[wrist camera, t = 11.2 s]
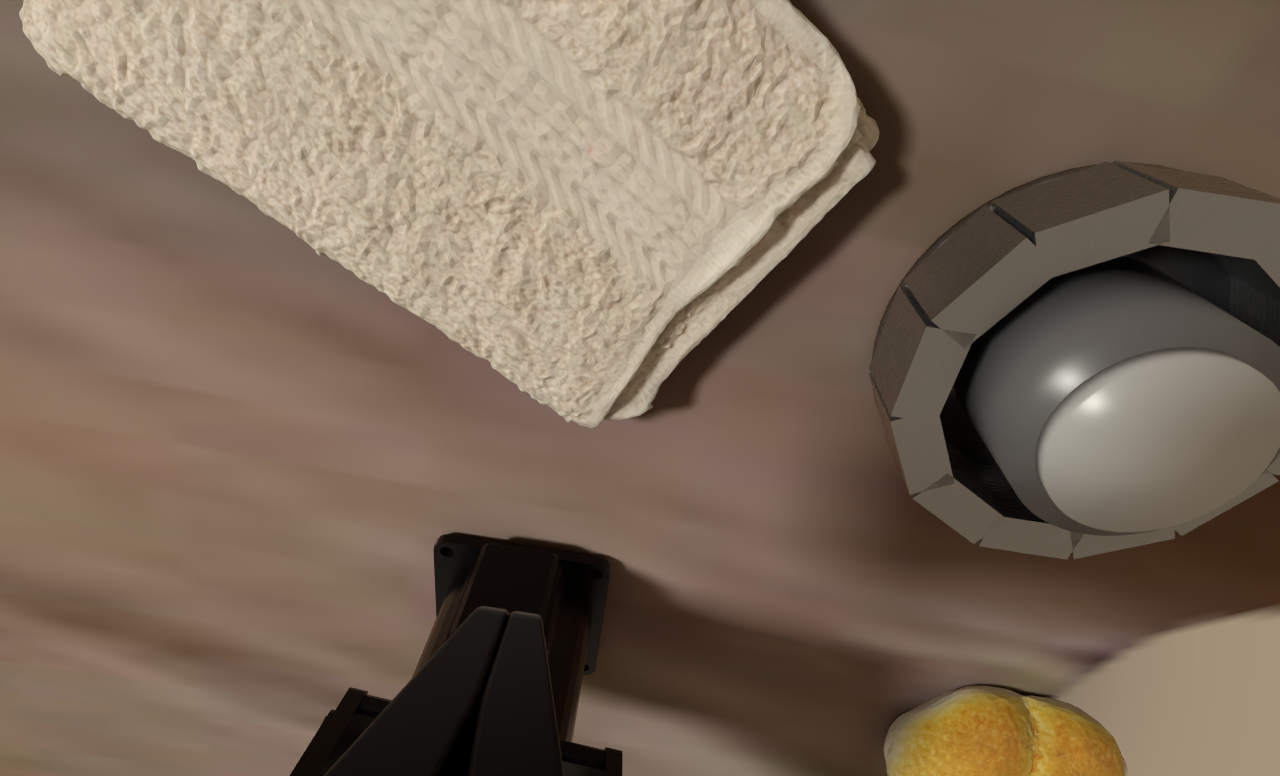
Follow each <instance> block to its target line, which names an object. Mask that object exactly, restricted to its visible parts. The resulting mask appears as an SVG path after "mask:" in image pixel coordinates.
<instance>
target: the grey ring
mask: <svg viewBox="0 0 1280 776" xmlns="http://www.w3.org/2000/svg"><path fill="white" fill-rule="evenodd" d="M1121 256H1125V257H1129V258H1134V259H1137V260H1139V261H1142V262H1145V263H1147V264H1149V265H1151V266H1152V267H1154V268H1156V269H1158V270H1159V271H1161V272H1162V273H1164V274H1166V275H1167V276H1169V277H1171V278H1172V279H1174V280H1175V281H1177V282H1179V283H1180V284H1182V285H1183V286H1185V287H1187V288H1188V289H1190V290H1191V291H1193V292H1195V293H1196V294H1198V295H1200V296H1201V297H1203V298H1204V299H1206V300H1208V301H1209V302H1211V303H1212V304H1214V305H1216V306H1217V307H1219V308H1220V309H1222V310H1224V311H1225V312H1227V313H1229V314H1230V315H1232V316H1233V317H1235V318H1237V319H1238V320H1240V321H1241V322H1243V323H1245V324H1246V325H1248V326H1249V327H1251V328H1253V329H1254V330H1256V331H1258V332H1259V333H1261V334H1262V335H1264V336H1266V337H1267V338H1269V339H1270V340H1272V341H1273V342H1274V343H1276V344H1277V345H1278V346H1279V347H1280V199H1278V198H1276V197H1273V196H1270V195H1268V194H1265V193H1262V192H1260V191H1257V190H1254V189H1251V188H1249V187H1246V186H1243V185H1241V184H1238V183H1235V182H1233V181H1230V180H1227V179H1224V178H1222V177H1217V176H1210V175H1204V174H1197V173H1191V172H1185V171H1182V170H1177V169H1173V168H1169V167H1164V166H1160V165H1152V164H1140V163H1126V162H1120V161H1114V162H1113V163H1111V164H1110V163H1108V162H1104V163H1101V164H1097V165H1091V166H1085V167H1079V168H1073V169H1069V170H1065V171H1062V172H1058V173H1055V174H1051V175H1048V176H1044V177H1041V178H1038V179H1036V180H1033V181H1031V182H1028V183H1026V184H1023V185H1021V186H1018V187H1016V188H1013V189H1011V190H1009V191H1007V192H1006V193H1004V194H1002V195H1000V196H998V197H996V198H994V199H992V200H990V201H989V202H987V203H985V204H983V205H982V206H980V207H979V208H977V209H976V210H974V211H973V212H971V213H970V214H969V215H967V216H966V217H964V218H963V219H961V220H960V221H958V222H957V223H956V224H955V225H954V226H952V227H951V228H950V229H949V230H948V231H947V232H945V233H944V234H943V235H942V236H941V237H939V238H938V239H937V240H936V241H935V242H934V243H933V244H932V245H931V246H930V247H929V248H928V249H927V250H926V252H925V253H924V254H923V255H922V256H921V257H920V258H919V259H918V260H917V261H916V263H915V264H914V265H913V267H912V268H911V269H910V270H909V272H908V273H907V274H906V276H905V277H904V278H903V280H902V281H901V283H900V285H899V286H898V288H897V290H896V291H895V293H894V295H893V296H892V298H891V300H890V301H889V304H888V306H887V308H886V311H885V313H884V315H883V317H882V320H881V322H880V325H879V329H878V332H877V336H876V339H875V343H874V350H873V357H872V362H871V365H870V367H869V369H870V371H871V373H869V375H870V379H871V383H872V386H873V391H874V396H875V402H876V404H877V407H878V410H879V413H880V416H881V419H882V423H883V427H884V430H885V434H886V438H887V441H888V444H889V446H890V449H891V451H892V453H893V456H894V458H895V461H896V463H897V466H898V468H899V470H900V473H901V475H902V478H903V480H904V482H905V485H906V487H907V490H908V492H909V495H910V494H911V497H912V499H913V500H915V501H916V502H918V503H919V504H920V505H922V506H923V507H924V508H926V509H927V510H928V511H930V512H931V513H932V514H934V515H935V516H936V517H938V518H939V519H940V520H942V521H943V522H944V523H946V524H947V525H948V526H950V527H951V528H952V529H954V530H955V531H956V532H958V533H959V534H961V535H962V536H963V537H965V538H966V539H967V540H969V541H970V542H971V543H973V544H975V543H976V542H977V544H978V546H980V547H987V548H993V549H1000V550H1006V551H1013V552H1020V553H1026V554H1033V555H1040V556H1046V557H1053V558H1059V559H1066V560H1067V559H1068V557H1069V556H1070V554H1071V556H1072V557H1073V559H1078V558H1083V557H1088V556H1092V555H1097V554H1102V553H1107V552H1112V551H1117V550H1122V549H1127V548H1131V547H1136V546H1141V545H1146V544H1151V543H1156V542H1161V541H1166V540H1170V539H1175V531H1177V532H1178V533H1179V534H1180V535H1181V536H1183V535H1185V534H1186V533H1188V532H1190V531H1192V530H1193V529H1195V528H1197V527H1199V526H1200V525H1202V524H1204V523H1206V522H1208V521H1209V520H1211V519H1213V518H1215V517H1216V516H1218V515H1220V514H1222V513H1223V512H1225V511H1227V510H1229V509H1231V508H1232V507H1234V506H1236V505H1238V504H1239V503H1241V502H1243V501H1245V500H1246V499H1248V498H1250V497H1252V496H1254V495H1255V494H1257V493H1259V492H1261V491H1262V490H1264V489H1266V488H1268V487H1269V486H1271V485H1273V484H1275V483H1277V482H1278V481H1279V480H1278V479H1276V478H1275V477H1274V476H1273V475H1272V474H1274V475H1280V454H1279V455H1278V457H1277V458H1276V459H1275V460H1274V462H1273V463H1272V464H1271V465H1270V466H1269V467H1268V468H1267V469H1266V470H1265V472H1263V473H1262V474H1261V475H1260V476H1259V477H1258V478H1257V479H1256V480H1255V481H1254V482H1253V483H1252V484H1251V485H1250V486H1249V487H1247V488H1246V489H1245V490H1244V491H1242V492H1241V493H1240V494H1239V495H1237V496H1236V497H1235V498H1233V499H1232V500H1230V501H1228V502H1227V503H1225V504H1224V505H1222V506H1220V507H1218V508H1217V509H1215V510H1213V511H1211V512H1209V513H1207V514H1205V515H1202V516H1200V517H1198V518H1195V519H1193V520H1190V521H1187V522H1184V523H1181V524H1178V525H1174V526H1171V527H1167V528H1163V529H1159V530H1155V531H1151V532H1145V533H1139V534H1132V535H1121V536H1098V535H1088V534H1081V533H1076V532H1071V531H1068V530H1065V529H1062V528H1059V527H1056V526H1054V525H1052V524H1050V523H1048V522H1045V521H1044V520H1042V519H1041V518H1039V517H1038V516H1036V515H1035V514H1033V513H1032V512H1031V511H1030V510H1029V509H1028V508H1027V507H1026V506H1025V505H1024V504H1023V503H1022V501H1021V500H1020V499H1019V497H1018V496H1017V495H1016V493H1015V491H1014V490H1013V488H1012V487H1011V485H1010V483H1009V482H1008V480H1007V479H1006V477H1005V475H1004V474H1003V472H1002V471H1001V469H1000V467H999V466H998V464H997V463H996V461H995V459H994V458H993V456H992V455H991V453H990V451H989V450H988V448H987V447H986V445H985V443H984V442H983V440H982V439H981V437H980V435H979V434H978V432H977V431H976V429H975V427H974V426H973V424H972V423H971V421H970V419H969V418H968V416H967V415H966V413H965V411H964V410H963V408H962V406H961V404H960V402H959V400H958V398H957V395H956V392H955V389H954V382H955V380H956V378H957V375H958V373H959V371H960V369H961V367H962V364H963V362H964V360H965V358H966V355H967V353H968V351H969V349H970V347H971V344H972V343H973V342H974V341H975V340H976V339H977V338H979V337H980V336H981V335H982V334H984V333H985V332H986V331H987V330H988V329H990V328H991V327H992V326H993V325H995V324H996V323H997V322H998V321H999V320H1001V319H1002V318H1003V317H1004V316H1006V315H1007V314H1008V313H1009V312H1010V311H1012V310H1013V309H1014V308H1015V307H1017V306H1018V305H1019V304H1020V303H1021V302H1023V301H1024V300H1025V299H1026V298H1028V297H1029V296H1030V295H1031V294H1032V293H1034V292H1035V291H1036V290H1037V289H1038V288H1040V287H1041V286H1042V285H1043V284H1045V283H1046V282H1047V281H1048V280H1049V279H1051V278H1053V277H1056V276H1059V275H1062V274H1066V273H1069V272H1072V271H1075V270H1079V269H1082V268H1085V267H1088V266H1092V265H1095V264H1098V263H1101V262H1105V261H1108V260H1111V259H1114V258H1118V257H1121Z"/></svg>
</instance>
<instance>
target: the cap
mask: <svg viewBox="0 0 1280 776" xmlns="http://www.w3.org/2000/svg"><path fill="white" fill-rule="evenodd" d="M954 389H955V392H956V395H957V398H958V400H959V402H960V404H961V406H962V408H963V410H964V411H965V413H966V415H967V416H968V418H969V419H970V421H971V423H972V424H973V426H974V427H975V429H976V431H977V432H978V434H979V435H980V437H981V439H982V440H983V442H984V443H985V445H986V447H987V448H988V450H989V451H990V453H991V455H992V456H993V458H994V459H995V461H996V463H997V464H998V466H999V467H1000V469H1001V471H1002V472H1003V474H1004V475H1005V477H1006V479H1007V480H1008V482H1009V483H1010V485H1011V487H1012V488H1013V490H1014V491H1015V493H1016V495H1017V496H1018V497H1019V499H1020V500H1021V501H1022V503H1023V504H1024V505H1025V506H1026V507H1027V508H1028V509H1029V510H1030V511H1031V512H1032V513H1033V514H1035V515H1036V516H1038V517H1039V518H1041V519H1042V520H1044V521H1045V522H1048V523H1050V524H1052V525H1054V526H1056V527H1059V528H1062V529H1065V530H1068V531H1071V532H1076V533H1081V534H1088V535H1098V536H1121V535H1132V534H1139V533H1145V532H1151V531H1155V530H1159V529H1163V528H1167V527H1171V526H1174V525H1178V524H1181V523H1184V522H1187V521H1190V520H1193V519H1195V518H1198V517H1200V516H1202V515H1205V514H1207V513H1209V512H1211V511H1213V510H1215V509H1217V508H1218V507H1220V506H1222V505H1224V504H1225V503H1227V502H1228V501H1230V500H1232V499H1233V498H1235V497H1236V496H1237V495H1239V494H1240V493H1241V492H1242V491H1244V490H1245V489H1246V488H1247V487H1249V486H1250V485H1251V484H1252V483H1253V482H1254V481H1255V480H1256V479H1257V478H1258V477H1259V476H1260V475H1261V474H1262V473H1263V472H1265V470H1266V469H1267V468H1268V467H1269V466H1270V465H1271V464H1272V463H1273V462H1274V460H1275V459H1276V458H1277V457H1278V455H1279V454H1280V347H1279V346H1278V345H1277V344H1276V343H1274V342H1273V341H1272V340H1270V339H1269V338H1267V337H1266V336H1264V335H1262V334H1261V333H1259V332H1258V331H1256V330H1254V329H1253V328H1251V327H1249V326H1248V325H1246V324H1245V323H1243V322H1241V321H1240V320H1238V319H1237V318H1235V317H1233V316H1232V315H1230V314H1229V313H1227V312H1225V311H1224V310H1222V309H1220V308H1219V307H1217V306H1216V305H1214V304H1212V303H1211V302H1209V301H1208V300H1206V299H1204V298H1203V297H1201V296H1200V295H1198V294H1196V293H1195V292H1193V291H1191V290H1190V289H1188V288H1187V287H1185V286H1183V285H1182V284H1180V283H1179V282H1177V281H1175V280H1174V279H1172V278H1171V277H1169V276H1167V275H1166V274H1164V273H1162V272H1161V271H1159V270H1158V269H1156V268H1154V267H1152V266H1151V265H1149V264H1147V263H1145V262H1142V261H1139V260H1137V259H1134V258H1129V257H1125V256H1121V257H1118V258H1114V259H1111V260H1108V261H1105V262H1101V263H1098V264H1095V265H1092V266H1088V267H1085V268H1082V269H1079V270H1075V271H1072V272H1069V273H1066V274H1062V275H1059V276H1056V277H1053V278H1051V279H1049V280H1048V281H1047V282H1046V283H1045V284H1043V285H1042V286H1041V287H1040V288H1038V289H1037V290H1036V291H1035V292H1034V293H1032V294H1031V295H1030V296H1029V297H1028V298H1026V299H1025V300H1024V301H1023V302H1021V303H1020V304H1019V305H1018V306H1017V307H1015V308H1014V309H1013V310H1012V311H1010V312H1009V313H1008V314H1007V315H1006V316H1004V317H1003V318H1002V319H1001V320H999V321H998V322H997V323H996V324H995V325H993V326H992V327H991V328H990V329H988V330H987V331H986V332H985V333H984V334H982V335H981V336H980V337H979V338H977V339H976V340H975V341H974V342H973V343H972V344H971V347H970V349H969V351H968V353H967V355H966V358H965V360H964V362H963V364H962V367H961V369H960V371H959V373H958V375H957V378H956V380H955V382H954Z"/></svg>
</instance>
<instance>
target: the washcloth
mask: <svg viewBox="0 0 1280 776" xmlns="http://www.w3.org/2000/svg"><path fill="white" fill-rule="evenodd" d="M19 15H20V18H21V20H22V23H23V32H24V33H25V34H26V37H27V38H28V39H30V40H31V41H32V45H33V47H34V48H35V50H36V51H37V52H38V53H39V54H40V55H41V56H42V57H43V58H45V60H46V62H47V64H48V67H49V68H50V69H52V70H53V71H55V72H56V73H57V74H59V75H60V76H61V77H62V76H66V75H71V76H72V77H73V78H74V79H76V80H77V81H79V82H80V83H81V85H82V87H83V88H84V89H85V90H87V91H89V92H90V93H91V94H93V95H94V96H95V97H96V98H97V99H98V100H99V101H100V102H101V103H103V104H106V105H107V106H108V107H109V108H112V109H115V111H116V112H117V113H119V114H120V115H121V116H123V117H124V118H126V119H129V120H133V121H135V122H136V124H137V125H138V126H139V128H143V129H145V130H148V131H149V132H150V134H151V135H152V137H153V139H155V140H157V141H158V142H160V143H164V144H165V145H166V146H168V147H170V148H172V149H175V150H177V151H179V152H180V153H183V154H185V155H187V156H189V157H191V158H193V159H194V160H195V161H196V163H197V167H198V169H199V170H200V171H202V172H204V173H205V174H207V175H210V176H212V177H213V178H215V179H217V180H219V181H221V182H222V183H224V184H226V185H228V186H229V187H230V188H231V189H233V190H234V191H235V192H236V193H238V194H240V195H242V196H245V197H246V198H247V199H249V200H250V201H251V202H253V203H254V204H256V205H257V207H258V208H259V209H260V210H261V211H262V212H263V213H265V214H266V215H268V216H270V217H273V218H275V219H276V220H277V221H278V222H280V223H281V224H283V225H285V226H287V227H288V228H289V229H291V230H292V231H294V232H295V233H296V235H297V236H298V237H300V238H302V239H303V240H305V241H306V242H307V243H308V244H309V245H310V246H311V247H312V248H313V249H315V250H316V253H317V254H318V255H319V256H320V255H323V254H325V255H327V256H328V257H330V258H331V259H332V260H336V261H338V262H339V263H340V264H342V265H343V266H344V267H345V268H346V269H349V270H351V271H353V272H354V273H355V275H356V276H357V277H358V278H360V279H361V280H363V281H365V282H367V283H369V284H371V285H373V286H375V287H376V288H377V289H378V291H380V292H384V293H386V294H387V295H388V296H389V297H390V299H391V301H393V303H396V304H398V305H400V306H402V307H404V308H406V309H408V310H409V311H411V312H412V313H414V314H416V315H417V316H419V317H421V318H422V319H424V320H425V321H427V322H428V323H430V324H433V325H435V326H436V327H437V328H438V329H439V330H441V331H442V332H444V333H445V334H446V335H447V336H448V337H449V339H450V340H452V341H456V342H458V343H459V344H460V345H461V346H462V347H463V348H464V349H466V350H468V351H470V352H473V353H474V354H475V355H476V356H478V357H481V358H484V359H487V360H489V361H490V363H491V366H492V368H493V369H495V370H497V371H499V372H500V373H501V374H502V375H503V376H505V377H506V378H507V379H508V380H510V381H512V382H514V383H515V384H517V385H518V388H519V389H520V390H521V391H524V392H527V393H529V394H530V395H531V397H532V398H533V399H535V400H537V401H538V402H539V403H540V404H547V405H548V406H550V407H551V408H552V409H553V410H555V411H556V412H557V413H558V414H559V415H561V416H563V417H564V418H565V419H566V421H567V422H568V423H569V422H571V421H574V422H577V423H578V424H579V425H582V426H586V427H589V428H592V429H593V428H595V427H598V426H599V425H600V423H601V422H602V420H603V419H606V420H617V419H627V418H632V417H636V416H640V415H642V414H644V413H645V412H646V411H648V410H649V409H651V408H653V406H652V405H651V402H652V401H653V400H654V399H655V398H656V394H657V392H658V390H659V387H660V385H661V384H662V382H663V381H664V380H665V379H666V378H667V377H668V376H669V375H670V373H671V372H672V371H673V370H674V369H675V368H676V366H677V365H678V364H679V363H680V362H681V361H682V360H683V359H684V358H685V357H686V356H687V355H688V353H689V352H690V351H691V350H692V349H693V348H694V347H696V346H697V345H698V344H700V342H701V340H702V339H703V338H705V337H707V336H708V335H709V333H710V332H711V331H712V330H713V329H714V328H715V327H716V326H717V325H718V324H719V323H720V322H721V321H722V320H723V319H725V317H726V316H727V315H728V314H729V312H730V311H731V310H733V309H734V308H735V307H736V306H737V305H738V304H739V303H740V302H741V301H742V300H743V299H744V298H745V297H746V296H747V295H748V294H749V293H750V292H751V291H752V290H753V289H754V288H755V286H756V285H757V284H758V283H759V282H760V281H761V280H762V279H763V278H764V277H765V276H766V275H767V274H768V273H769V272H770V271H771V270H772V269H773V268H774V267H775V266H776V265H777V264H779V262H780V261H781V260H783V259H784V258H785V257H786V256H787V255H788V254H789V253H790V252H791V251H792V250H793V249H794V248H795V247H796V245H797V244H798V243H799V242H800V241H801V240H802V239H803V238H805V237H806V235H807V234H808V233H809V232H810V231H811V230H812V228H813V227H814V226H815V225H816V224H817V223H819V222H820V221H821V220H822V218H823V217H824V216H825V215H826V213H828V212H829V211H830V210H831V209H832V208H833V207H834V206H835V205H836V204H837V203H838V202H839V201H840V200H841V199H842V198H843V197H844V196H845V195H846V194H847V193H848V192H849V191H850V189H851V188H852V187H853V186H854V185H855V184H857V183H858V182H859V181H860V180H861V179H863V178H864V177H865V176H867V175H868V174H869V172H870V171H871V170H872V169H873V167H874V165H875V163H876V161H875V159H874V158H873V156H872V155H871V154H870V152H869V151H870V150H871V149H872V148H873V147H874V146H875V144H876V143H877V141H878V138H879V132H880V131H879V129H878V126H877V123H876V121H875V120H874V119H873V118H871V117H869V116H868V115H866V109H864V107H863V104H862V102H861V101H860V99H859V98H857V93H856V90H855V86H854V83H853V81H852V78H851V76H850V74H849V72H848V71H847V69H846V66H845V64H844V63H843V61H842V59H841V58H840V55H839V53H838V51H837V50H836V49H835V47H834V46H833V45H832V44H831V42H830V41H829V40H828V39H827V38H826V37H825V36H824V35H823V34H822V33H821V32H820V31H819V29H818V28H817V27H816V26H814V25H813V24H812V23H811V22H810V21H809V20H808V19H807V18H806V17H805V16H804V15H803V14H802V12H801V11H799V10H798V9H797V8H796V7H794V6H793V5H792V3H791V2H790V0H24V3H23V7H22V9H21V11H20V13H19Z"/></svg>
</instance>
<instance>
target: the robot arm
mask: <svg viewBox="0 0 1280 776" xmlns="http://www.w3.org/2000/svg"><path fill="white" fill-rule="evenodd" d="M447 547H448V548H447ZM449 548H451V549H449ZM434 570H435V592H436V614H437V619H436V621H435V623H434V626H433V628H432V631H431V633H430V636H429V638H428V640H427V643H426V645H425V648H424V650H423V653H422V655H421V658H420V660H419V662H418V665H417V667H416V670H415V672H414V675H413V677H412V679H411V680H410V681H409V683H408V684H407V685H406V686H405V687H404V688H403V689H402V690H401V691H400V692H399V694H398V695H397V696H396V697H395V698H394V699H393V700H388V699H384V698H380V697H375V696H371V695H367V694H368V691H364V690H360V689H356V688H351V687H350V688H349V689H348V691H347V692H346V694H345V696H344V697H343V699H342V700H341V702H340V704H339V705H338V707H337V708H336V710H331V711H330V712H329V714H328V716H326V717H325V719H324V721H323V723H322V725H321V727H320V728H319V730H318V731H317V733H316V735H315V736H314V738H313V739H312V741H311V743H310V744H309V746H308V747H307V749H306V751H305V752H304V754H303V755H302V757H301V758H300V760H299V762H298V763H297V765H296V766H295V768H294V770H293V771H292V773H291V774H290V776H622V751H620V750H616V749H611V748H607V747H605V749H604V750H602V749H598V748H593V747H589V746H585V745H581V744H576V743H572V738H573V732H574V726H575V720H576V714H577V708H578V702H579V696H580V690H581V684H582V678H583V675H589V674H591V673H593V672H594V670H595V665H596V659H597V652H598V646H599V640H600V633H601V627H602V620H603V614H604V607H605V601H606V594H607V588H608V581H609V575H610V564H609V562H608V561H607V560H605V559H604V558H601V557H596V556H590V555H583V554H576V553H570V552H563V551H557V550H550V549H543V548H537V547H530V546H523V545H517V544H510V543H504V542H497V541H490V540H484V539H477V538H470V537H464V536H457V535H450V534H445V535H442V536H440V537H439V538H438V540H437V542H436V544H435V546H434ZM594 570H599V571H594Z"/></svg>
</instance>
